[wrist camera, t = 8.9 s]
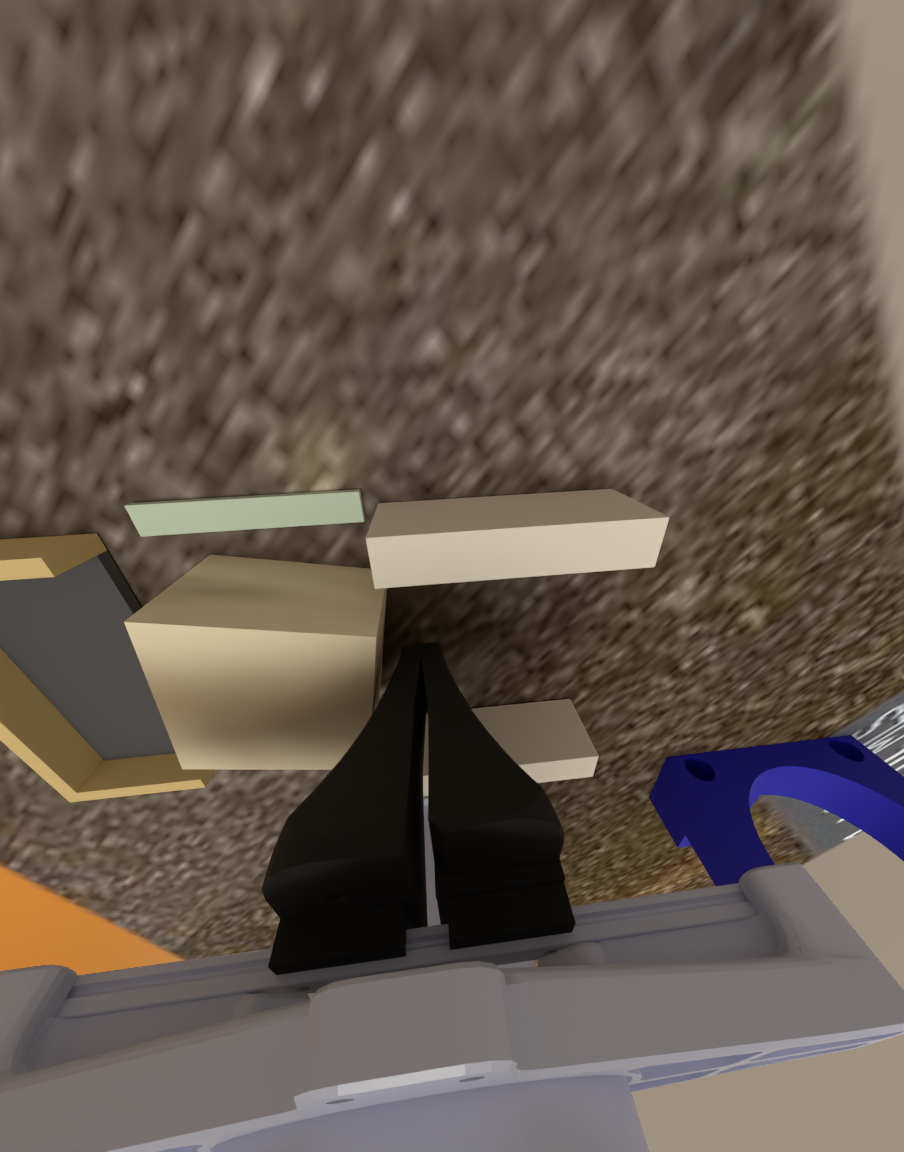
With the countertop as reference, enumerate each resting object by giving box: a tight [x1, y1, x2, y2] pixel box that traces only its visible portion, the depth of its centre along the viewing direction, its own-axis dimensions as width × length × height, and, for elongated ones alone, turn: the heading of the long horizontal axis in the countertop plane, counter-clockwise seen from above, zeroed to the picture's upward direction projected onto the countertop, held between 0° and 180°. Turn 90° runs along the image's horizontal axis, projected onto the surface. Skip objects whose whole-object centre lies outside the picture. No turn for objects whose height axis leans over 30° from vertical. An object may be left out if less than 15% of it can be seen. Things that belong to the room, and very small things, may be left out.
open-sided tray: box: [0, 533, 215, 802], centre depth 12 cm, size 11×6×2 cm, turn 2°
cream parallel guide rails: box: [366, 489, 669, 796], centre depth 13 cm, size 12×8×3 cm, turn 2°
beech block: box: [124, 555, 387, 770], centre depth 12 cm, size 6×6×4 cm
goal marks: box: [125, 489, 365, 536], centre depth 13 cm, size 13×7×1 cm, turn 2°
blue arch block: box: [649, 735, 904, 886], centre depth 19 cm, size 12×4×6 cm, turn 92°
